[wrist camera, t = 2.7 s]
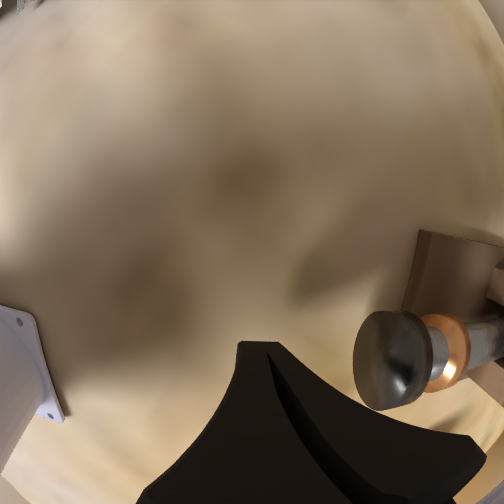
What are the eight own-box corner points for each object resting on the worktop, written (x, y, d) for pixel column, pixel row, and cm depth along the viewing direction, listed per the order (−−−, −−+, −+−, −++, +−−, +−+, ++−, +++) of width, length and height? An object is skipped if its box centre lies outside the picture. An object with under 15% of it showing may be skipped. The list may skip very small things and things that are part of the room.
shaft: (344, 373, 12) (382, 430, 8) (367, 296, 11) (424, 340, 7) (484, 347, 13) (519, 373, 10) (503, 294, 13) (543, 315, 9)
